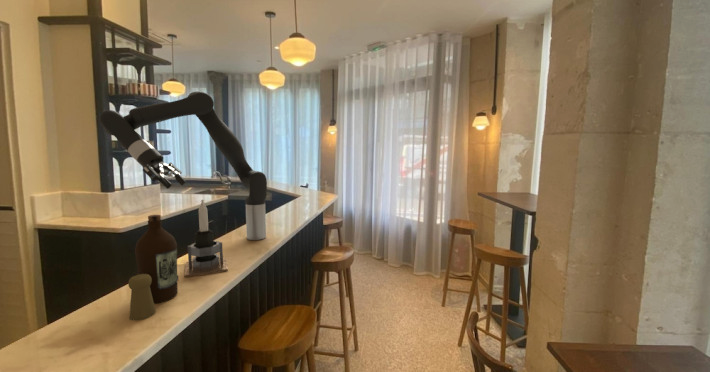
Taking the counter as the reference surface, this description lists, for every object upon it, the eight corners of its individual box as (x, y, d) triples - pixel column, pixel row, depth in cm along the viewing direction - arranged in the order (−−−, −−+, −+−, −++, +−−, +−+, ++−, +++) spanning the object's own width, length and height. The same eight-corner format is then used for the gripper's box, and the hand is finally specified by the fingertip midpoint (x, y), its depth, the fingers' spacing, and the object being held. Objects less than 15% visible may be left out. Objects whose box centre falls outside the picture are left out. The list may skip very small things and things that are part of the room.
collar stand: (186, 264, 124) (184, 241, 123) (225, 258, 130) (224, 237, 129) (184, 277, 112) (183, 252, 110) (227, 271, 118) (226, 247, 116)
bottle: (215, 263, 123) (212, 198, 120) (208, 268, 118) (205, 201, 115) (203, 262, 124) (199, 198, 121) (195, 267, 119) (191, 200, 115)
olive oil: (130, 301, 94) (123, 218, 91) (161, 286, 104) (156, 211, 101) (157, 307, 91) (151, 221, 88) (187, 291, 101) (183, 213, 98)
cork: (136, 322, 83) (132, 282, 82) (124, 316, 86) (121, 276, 85) (160, 312, 88) (157, 274, 87) (148, 306, 91) (146, 269, 90)
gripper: (137, 147, 112) (171, 180, 113) (164, 147, 126) (194, 176, 127) (124, 163, 114) (158, 195, 114) (153, 160, 128) (182, 189, 128)
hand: (177, 185), depth 121 cm, fingers open, 8 cm apart
